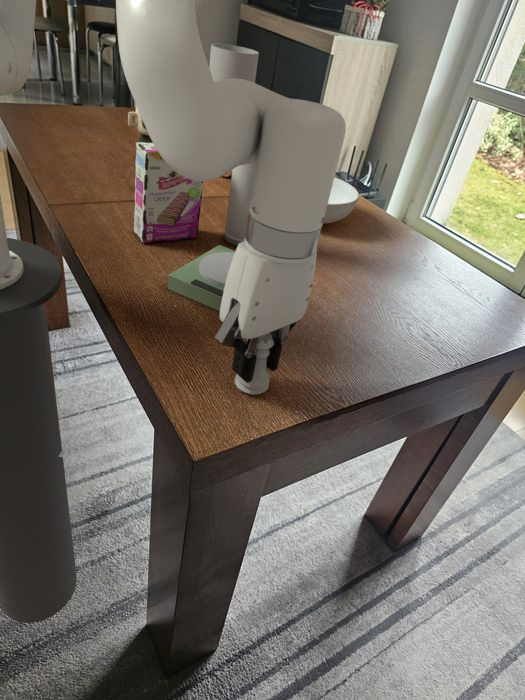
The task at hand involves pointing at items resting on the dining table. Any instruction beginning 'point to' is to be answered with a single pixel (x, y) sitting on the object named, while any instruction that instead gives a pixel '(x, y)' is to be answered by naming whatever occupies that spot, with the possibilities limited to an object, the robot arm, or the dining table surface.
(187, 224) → the candy bar box
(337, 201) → the serving bowl
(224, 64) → the cylinder vase
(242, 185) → the travel mug
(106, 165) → the dining table surface
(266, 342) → the rook chess piece
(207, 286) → the kitchen scale
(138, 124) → the character mug
